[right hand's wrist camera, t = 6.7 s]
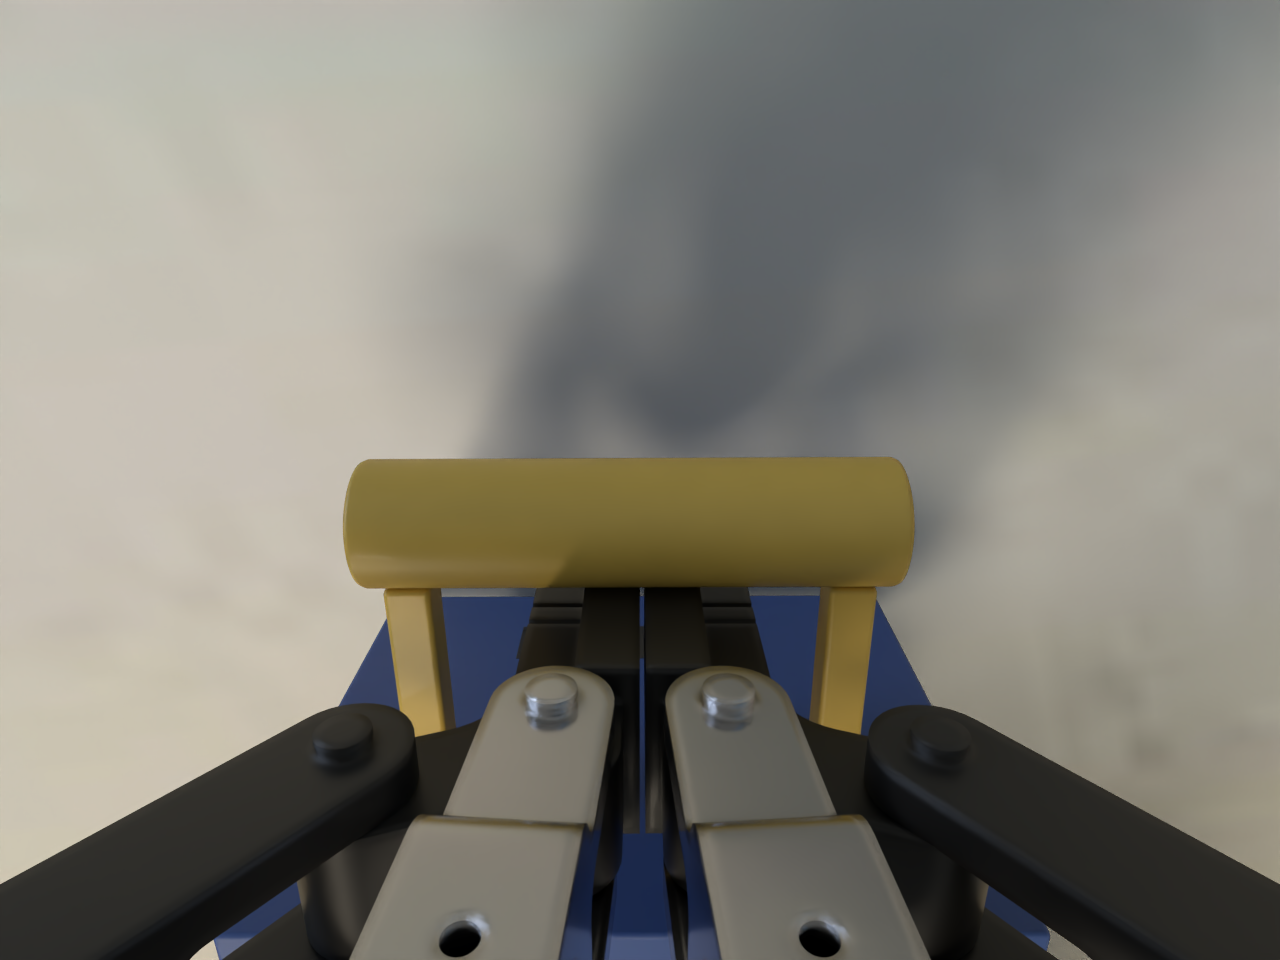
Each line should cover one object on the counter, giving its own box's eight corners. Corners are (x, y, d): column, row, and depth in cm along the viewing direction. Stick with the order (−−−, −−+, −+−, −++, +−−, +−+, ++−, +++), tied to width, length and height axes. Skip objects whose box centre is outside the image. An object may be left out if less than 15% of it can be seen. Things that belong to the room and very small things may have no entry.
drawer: (364, 352, 15) (100, 546, 8) (903, 349, 15) (1153, 540, 8) (455, 1029, 22) (360, 1472, 15) (825, 1028, 22) (917, 1474, 15)
